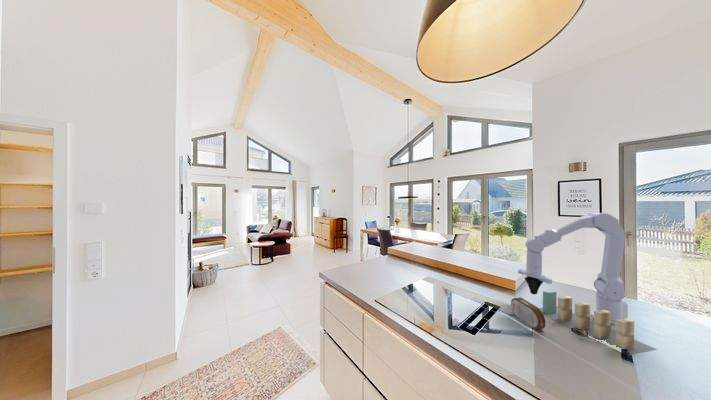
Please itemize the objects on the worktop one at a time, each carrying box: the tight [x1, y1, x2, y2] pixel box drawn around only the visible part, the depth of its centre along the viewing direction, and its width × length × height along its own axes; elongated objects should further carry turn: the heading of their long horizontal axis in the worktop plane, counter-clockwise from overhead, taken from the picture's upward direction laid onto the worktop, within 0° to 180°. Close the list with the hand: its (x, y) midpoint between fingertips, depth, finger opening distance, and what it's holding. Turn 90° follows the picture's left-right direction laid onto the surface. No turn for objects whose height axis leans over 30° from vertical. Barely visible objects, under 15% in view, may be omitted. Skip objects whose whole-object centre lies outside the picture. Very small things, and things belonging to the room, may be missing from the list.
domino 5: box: [615, 318, 635, 349], centre depth 76 cm, size 5×2×9 cm, turn 102°
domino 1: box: [542, 289, 557, 314], centre depth 100 cm, size 5×2×9 cm, turn 102°
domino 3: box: [574, 302, 591, 329], centre depth 88 cm, size 5×2×9 cm, turn 102°
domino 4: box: [593, 310, 612, 339], centre depth 82 cm, size 5×2×9 cm, turn 103°
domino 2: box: [557, 295, 573, 321], centre depth 94 cm, size 5×2×9 cm, turn 102°
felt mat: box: [538, 305, 658, 356], centre depth 89 cm, size 14×31×1 cm, turn 13°
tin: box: [510, 296, 547, 330], centre depth 92 cm, size 15×3×8 cm, turn 2°
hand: (533, 293), depth 106 cm, fingers closed
